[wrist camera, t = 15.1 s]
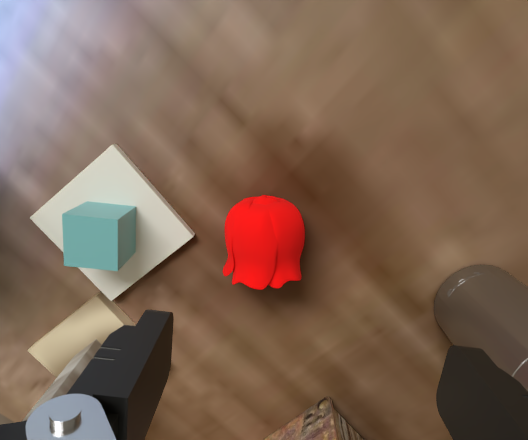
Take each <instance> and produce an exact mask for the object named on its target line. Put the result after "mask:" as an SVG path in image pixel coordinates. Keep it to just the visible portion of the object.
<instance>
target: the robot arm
mask: <svg viewBox="0 0 528 440" xmlns="http://www.w3.org/2000/svg"><path fill="white" fill-rule="evenodd" d="M434 313H435V318H436V320H437V322H438V324H439V326H440V327H441V328H442V330H443V331H444V333H445V334H446V335H447V337H448V338H449V339H450V341H451V342H452V343H453V346H451V347H450V348H449V350H448V353H447V356H446V360H445V363H444V367H443V371H442V374H441V378H440V381H439V385H438V389H437V395H436V401H437V408H438V411H439V414H440V416H441V418H442V420H443V421H444V423H445V425H446V427H447V429H448V431H449V433H450V435H451V436H452V438H453V440H528V287H527V286H526V285H524V284H523V283H522V282H520V281H519V280H517V279H516V278H515V277H513V276H512V275H510V274H509V273H508V272H506V271H504V270H502V269H500V268H498V267H495V266H491V265H475V266H470V267H467V268H464V269H461V270H460V271H458V272H456V273H454V274H453V275H452V276H450V277H449V278H448V279H447V280H446V281H445V282H444V283H443V284H442V286H441V287H440V289H439V291H438V292H437V295H436V298H435V301H434ZM172 335H173V313H172V312H165V311H156V310H146V311H145V312H144V313H143V315H142V317H141V318H140V320H139V321H138V323H137V325H136V326H130V325H123V326H122V327H120V328H119V329H117V330H115V331H114V332H112V333H111V334H109V336H108V337H107V339H106V340H105V341H104V343H103V344H102V345H101V348H100V349H99V350H98V351H97V352H96V354H95V355H94V358H93V359H91V361H90V362H89V363H88V365H87V366H86V368H85V369H84V370H83V372H82V373H81V375H80V376H79V377H78V379H77V380H76V382H75V383H74V384H73V386H72V387H71V388H70V390H69V391H68V393H67V394H66V395H62V396H58V397H55V398H53V399H51V400H48V401H46V402H45V403H43V404H42V405H40V406H39V407H38V408H36V409H35V410H34V411H33V412H32V414H31V415H30V416H29V418H28V420H26V421H22V422H16V423H10V424H2V425H0V440H144V439H145V436H146V434H147V431H148V429H149V426H150V423H151V421H152V418H153V416H154V413H155V411H156V408H157V405H158V403H159V400H160V398H161V395H162V393H163V390H164V388H165V385H166V382H167V379H168V375H169V371H170V365H171V353H172Z"/></svg>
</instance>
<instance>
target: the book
mask: <svg viewBox="0 0 528 440" xmlns="http://www.w3.org/2000/svg"><path fill="white" fill-rule="evenodd" d="M263 440H363V438H362V437H361V436H360V435H359V434H358V433H357V432H356V431H355V430H354V429H353V428H352V427H351V426H350V425H349V424H348V423H347V422H346V421H345V420H344V419H343V418H342V417H341V416H340V415H339V413H338V412H337V411H336V410H335V409H334V408H333V404H332V399H330V398H329V397H325V398H323V399H322V400H320V401H319V402H318V403H316V404H315V405H313V406H312V407H310V408H309V409H307V410H306V411H304V412H303V413H301V414H300V415H299V416H297V417H296V418H294V419H293V420H291V421H290V422H288V423H287V424H285V425H284V426H282V427H281V428H279V429H278V430H277V431H275V432H274V433H272V434H271V435H269V436H268V437H266V438H265V439H263Z"/></svg>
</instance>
